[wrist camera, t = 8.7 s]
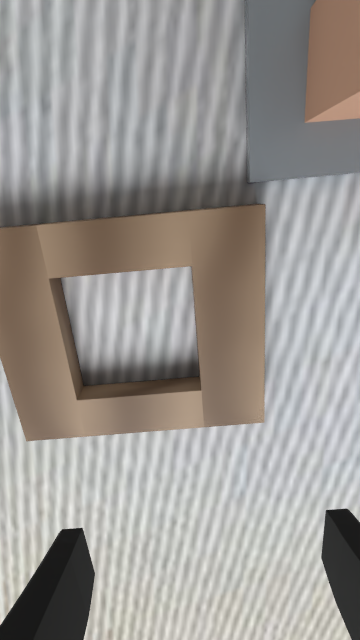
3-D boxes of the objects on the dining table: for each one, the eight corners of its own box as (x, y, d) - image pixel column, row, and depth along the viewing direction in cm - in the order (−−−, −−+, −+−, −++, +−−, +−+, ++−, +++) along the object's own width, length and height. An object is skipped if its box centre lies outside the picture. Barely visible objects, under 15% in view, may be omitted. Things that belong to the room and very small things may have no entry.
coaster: (479, -93, 13) (493, -107, 12) (435, 165, 16) (444, 164, 15) (244, -68, 13) (247, -80, 12) (247, 183, 16) (249, 182, 15)
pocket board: (257, 203, 16) (265, 204, 15) (258, 407, 21) (264, 422, 19) (-21, 229, 17) (-39, 232, 15) (36, 424, 21) (26, 441, 19)
